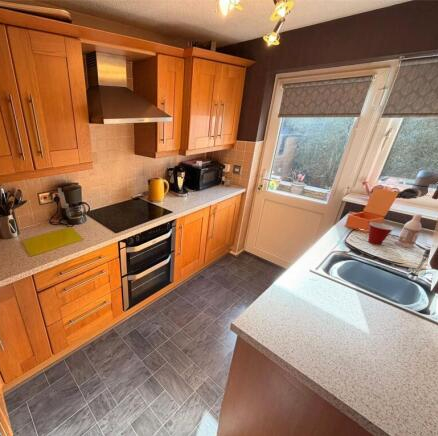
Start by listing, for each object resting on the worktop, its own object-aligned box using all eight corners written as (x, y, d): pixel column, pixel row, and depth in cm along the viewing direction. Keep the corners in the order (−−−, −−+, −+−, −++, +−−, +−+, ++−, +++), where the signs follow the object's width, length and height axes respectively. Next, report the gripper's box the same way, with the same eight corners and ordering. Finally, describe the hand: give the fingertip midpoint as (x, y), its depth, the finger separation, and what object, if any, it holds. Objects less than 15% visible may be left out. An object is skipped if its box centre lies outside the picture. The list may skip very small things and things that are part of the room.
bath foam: (407, 248, 135) (421, 217, 128) (393, 243, 142) (406, 213, 134) (416, 247, 137) (430, 216, 129) (402, 242, 143) (415, 212, 136)
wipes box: (365, 232, 157) (369, 220, 153) (345, 225, 168) (348, 214, 164) (380, 228, 162) (384, 217, 159) (359, 222, 173) (363, 211, 170)
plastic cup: (392, 246, 138) (399, 228, 134) (377, 247, 137) (384, 229, 132) (372, 238, 148) (379, 221, 144) (358, 239, 147) (364, 222, 142)
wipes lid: (398, 192, 155) (399, 192, 155) (375, 188, 166) (376, 188, 166) (384, 216, 159) (385, 216, 159) (363, 210, 170) (363, 211, 170)
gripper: (421, 200, 162) (402, 204, 154) (397, 196, 173) (378, 199, 166) (425, 190, 159) (406, 193, 151) (400, 186, 170) (381, 189, 163)
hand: (391, 196), depth 158 cm, fingers closed
